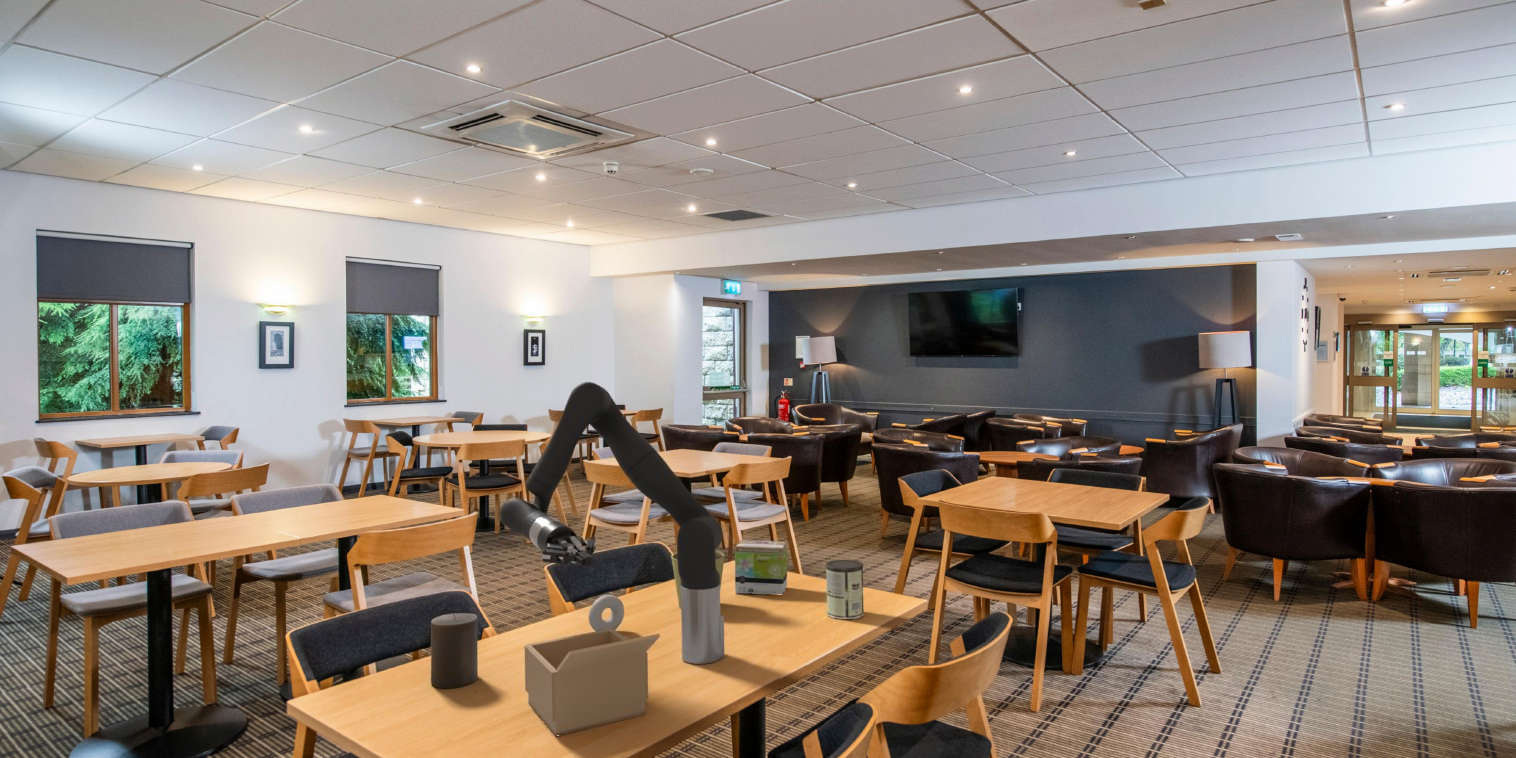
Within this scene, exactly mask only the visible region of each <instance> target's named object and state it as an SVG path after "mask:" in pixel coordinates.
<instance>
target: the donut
mask: <svg viewBox="0 0 1516 758" xmlns="http://www.w3.org/2000/svg"><path fill="white" fill-rule="evenodd" d="M624 607H625V606H624V603H623V601H622V600H621V599H620V598H619V597H618V596H616V595H614V594H605V595H604V594H603V595H602V596H600V597H598V598H596V600H594V602H593V603H592V604H591V606H590V609H589V611H588V623H589V625H590V627H591V628H592V630H594V632H596V631H601V630H606V629H614V630H617V629H618V628H619V627H620V625H621V624H622V623H623V620H624V618H625V617H624V616H625V608H624ZM608 608H609V609H610V610H611V614H610V616H609V617H608V619H606V620H605V619H603V612H605V610H606V609H608Z"/></svg>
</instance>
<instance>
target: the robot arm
mask: <svg viewBox="0 0 1516 758" xmlns="http://www.w3.org/2000/svg"><path fill="white" fill-rule="evenodd" d="M588 426H591V428H593V429H594V430H595V431H596V432H597V433H598V434H599V436H600V437H602V439H603V440H604V442H606V444H607V446H608V447H609V449H610V450H611V452H612V455H613V456H614V458H615V460H616V462H617V464H618V465H619V467H620V469H621V470H622V471H623V473H624V474H625V475H626V477H627V478H628V480H630V482H631V483H632V484H633V485H634V487H635V488H636V489H637V490H638V491H639V492H640V493H641V494H643V495H644V496H645V497H646V498H648V499H649V500H650V501H652V502H654V503H655V504H657V505H658V506H659V507H660V508H662V509H664V511H666V512H667V513H668V514H669V515H670V517H672V518H673V519H674V521H675V523H677V525H678V527H679V529H678V533H677V536H676V553H677V561H678V573H679V576H680V578H681V609H680V610H681V612H680V613H681V614H680V615H681V616H680V617H681V619H680V620H681V659H682V660H683V661H684V662H686V663H687V664H688V663H689V664H694V665H702V664H703V665H704V664H705V665H706V664H710V663H715V662H717V661H719V660H720V659H722V658H725V657H726V656H725V617H724V616H723V615H721V588H720V574H719V572H718V571H717V570H716V561H715V551H716V549H718V547H720V545H721V544H722V541H723V539H724V538H723V536H724V533H723V529H722V526H721V524H720V522H719V520H717V518H715V516H714V515H713V514H711V512H710V511H708V509H707V508H704V507H705V506H704V505H703V504H701V503H700V502H699V501H698V500H697V499H696V498H695V496H693V495H692V493H691V492H690V491H689V489H687V487H686V486H685V485H684V484H683V482H682V480H681V479H680V478H679V477H678V476H677V475H676V473H675V472H674V471H673V470H672V468H671V467H670V466H669V465H668V463H667V462H666V460H664V458H663V457H662V456H661V455H660V453H659V452H658V451H657V450H656V449H655V448H654V447H653V446H652V445H651V443H650V442H649V441H648V440H647V439H646V438H645V437H644V436H643V435H642V434H641V433H640V432H639V431H638V430H636V428H635V427H634V426H633V425H632V424H631V423H630V422H629V421H628V420H627V418H626V417H625V416H624V414H623V413H622V411H621V410H620V409H619V407H618V405H617V404H616V402H615V401H614V399H613V397H612V396H611V394H610V393H609V392H608V391H607V390H606V388H604V387H602V385H599V384H597V383H595V382H592V381H591V382H590V381H583V382H580V383H579V384H577V385H576V386H575V387H574V388H573V389H572V390H571V393H570V394H569V396H568V398H567V401H566V404H565V406H564V409H563V411H562V415H561V416H560V419H559V421H558V424H557V426H556V428H555V429H554V431H553V434H552V436H551V438H550V440H549V442H548V443H547V446H546V447H545V448H544V450H543V453H542V454H541V456H540V457H539V459H538V461H537V462H536V463H535V466H534V467H533V469H532V471H531V473H530V474H529V476H528V477H527V478H526V479H527V480H526V481H525V485H524V486H525V489H526V490H527V491H528V492H530V493H531V494H532V495H533V496H534V500H533V503H531V502H530V501H527V500H524V499H522V498H519V497H511V498H509V499H507V500H505V502H504V503H502V505H501V507H500V510H499V517H500V521H501V523H502V524H503V525H504V526H505V527H507V528H508V529H510V530H513V531H514V532H517V533H518V534H519V535H522V536H524V537H525V538H526V539H527V540H529V541H530V542H531V543H533V545H534V546H535V547H536V548H537V549H538V550H539V551H541V554H542V555H541V556H542V562H543V563H548V564H549V563H550V564H561V565H569V564H570V563H572V564H577V565H578V566H579V567H583V568H584V569H586V568H589V567H592V565H593V555H594V553H595V551H596V549H597V547H596V545H597V543H596V540H597V539H596V537H595V536H591V537H589V539H584V538H583V537H581V536H578V535H577V533H576V532H575V531H574V530H573V529H572V528H571V527H570V526H568V525H567V524H565V523H564V522H562V521H561V520H559V519H558V518H556V517H553V516H551V515H550V514H548V512H549V511H548V510H549V507H550V506H551V500H552V497H553V495H554V493H555V491H556V489H557V487H558V486H559V484H560V483H561V482H562V481H561V480H562V479H563V478H564V476H565V474H566V472H567V470H568V468H569V465H570V463H571V459H572V457H573V454H574V451H575V448H576V446H577V444H578V442H579V440H580V439H581V437H582V435H583V434H584V432H585V430H586V429H587V427H588ZM706 509H707V510H706ZM709 512H710V513H709ZM584 547H585V548H584Z"/></svg>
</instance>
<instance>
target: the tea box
mask: <svg viewBox="0 0 1516 758" xmlns="http://www.w3.org/2000/svg"><path fill="white" fill-rule="evenodd" d="M734 550H735V551H734V561H735V562H734V587H735V589H734V590H735V592H734V593H735V594H749V593H752V595H754V593H756V594H755V595H765V594H783V595H784V593H785V591H786V589H787V587H788V542H787V541H773V540H772V541H770V540H769V541H767V540H747V539H745V540H742V539H741V540H740V541H739V542H738V544H737V545H736V546H735V548H734ZM786 586H787V587H786ZM785 588H786V589H785ZM783 592H784V593H783Z"/></svg>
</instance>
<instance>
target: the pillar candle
mask: <svg viewBox="0 0 1516 758" xmlns="http://www.w3.org/2000/svg"><path fill="white" fill-rule="evenodd" d="M430 623H431V625H430V635H431V636H430V652H431V653H430V683H431V686H433V687H435V688H437V689H458V688H461V687H465V686H469V685H471V684H473V683H475V682H476V681H477V680H478V676H479V674H478V665H479V664H478V616H477V615H476V614H474V613H469V612H468V613H467V612H466V613H465V612H464V613H463V612H460V613H454V612H452V613H448V614H443V615H439V616H436V617H434V618H433V619H432V620H431V622H430Z"/></svg>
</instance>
